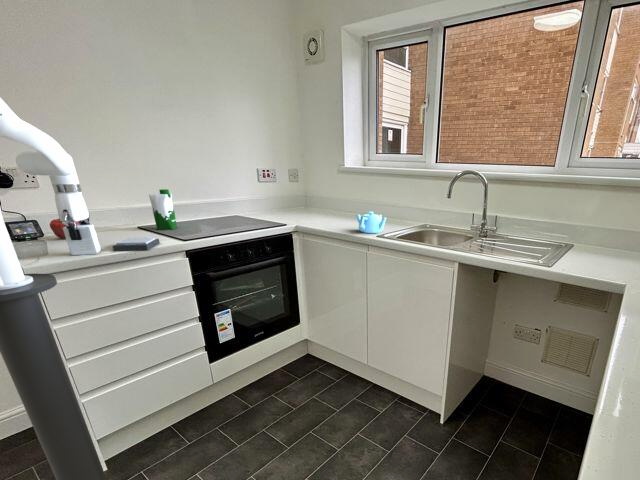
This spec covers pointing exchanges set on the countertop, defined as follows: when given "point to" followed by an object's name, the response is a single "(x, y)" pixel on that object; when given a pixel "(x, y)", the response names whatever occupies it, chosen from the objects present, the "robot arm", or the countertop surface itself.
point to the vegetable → (58, 227)
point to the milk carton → (163, 210)
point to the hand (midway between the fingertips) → (82, 237)
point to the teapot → (371, 223)
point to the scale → (136, 244)
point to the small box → (83, 241)
